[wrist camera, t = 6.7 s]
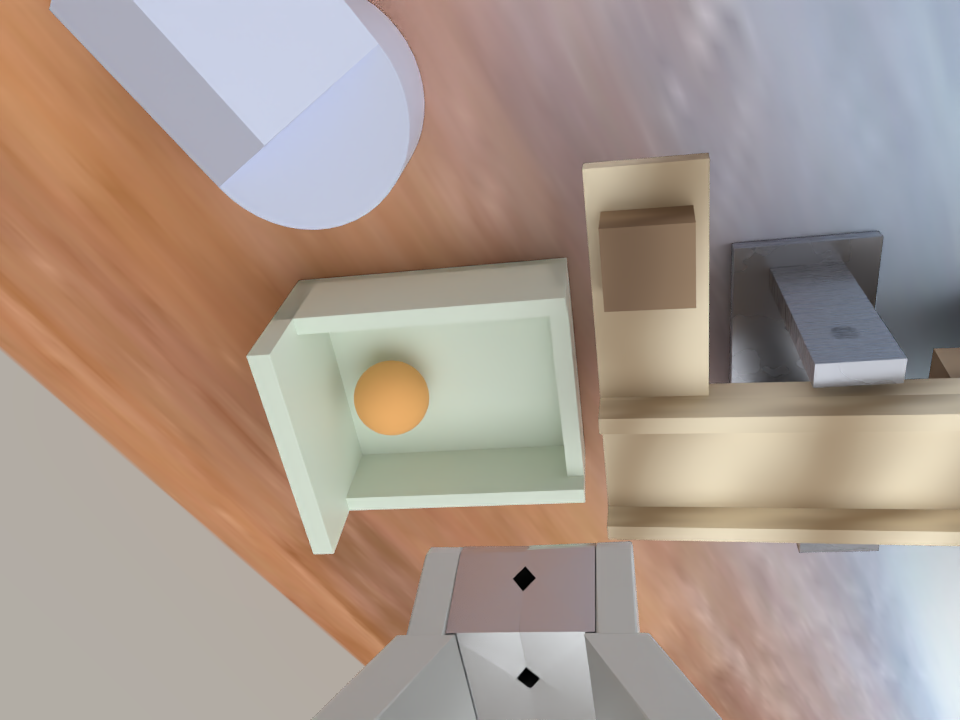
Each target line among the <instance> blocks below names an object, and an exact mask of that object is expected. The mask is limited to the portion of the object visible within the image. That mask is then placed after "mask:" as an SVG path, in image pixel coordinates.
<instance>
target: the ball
mask: <svg viewBox="0 0 960 720" xmlns="http://www.w3.org/2000/svg"><path fill="white" fill-rule="evenodd" d="M354 405H355V409H356V412H357V414H358V416H359V418H360V419H361V421H362V422H363V423H364V424H365V425H366V426H367V427H368V428H370V429H371V430H373V431H375V432H377V433H379V434H383V435H400V434H403V433H406V432H408V431H410V430H412V429H413V428H415V427H416V426H417V425H418V424H419V423H420V422H421V420H422V419H423V418H424V416H425V414H426V412H427V409H428V405H429V390H428V387H427V384H426V382H425V380H424V378H423V376H422V375H421V374H420V373H419V372H418V371H417V370H416V369H415V368H414V367H412V366H411V365H409V364H406V363H404V362H400V361H393V360H390V361H383V362H380V363H377V364H375V365H373V366H371V367H370V368H368V369H367V370H366V371H365V372H364V373H363V374H362V375H361V377H360V378H359V380H358V382H357V384H356V387H355V391H354Z"/></svg>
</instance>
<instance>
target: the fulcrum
mask: <svg viewBox="0 0 960 720" xmlns="http://www.w3.org/2000/svg"><path fill="white" fill-rule="evenodd" d="M882 244H883V235H882V234H881V233H880V232H879V231H872V232H860V233H848V234H836V235H825V236H813V237H801V238H790V239H778V240H766V241H755V242H743V243H732V276H731V328H730V379H729V383H763V382H807V381H810V382H811V385H812V387H813V388H824V387H842V386H861V385H879V384H897V383H904V379H905V372H906V366H907V357H906V356H905V354H904V353H903V351H902V349H901V348H900V346H899V345H898V343H897V342H896V340H895V339H894V337H893V336H892V334H891V333H890V331H889V330H888V328H887V327H886V325H885V324H884V322H883V321H882V319H881V318H880V316H879V315H878V313H877V312H876V310H875V301H876V293H877V285H878V277H879V268H880V260H881V252H882ZM797 547H798V550H799V553H805V552H849V551H878V550H879V545H876V544H825V543H797Z"/></svg>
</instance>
